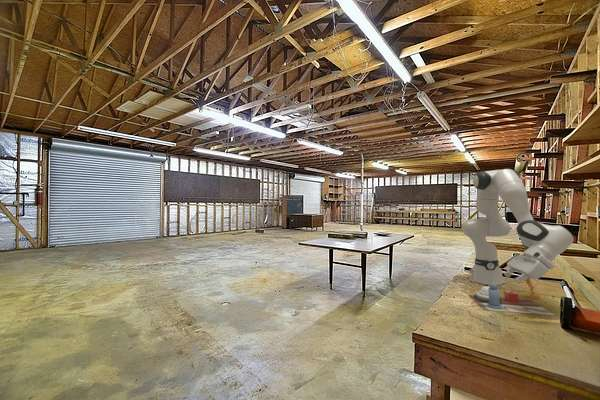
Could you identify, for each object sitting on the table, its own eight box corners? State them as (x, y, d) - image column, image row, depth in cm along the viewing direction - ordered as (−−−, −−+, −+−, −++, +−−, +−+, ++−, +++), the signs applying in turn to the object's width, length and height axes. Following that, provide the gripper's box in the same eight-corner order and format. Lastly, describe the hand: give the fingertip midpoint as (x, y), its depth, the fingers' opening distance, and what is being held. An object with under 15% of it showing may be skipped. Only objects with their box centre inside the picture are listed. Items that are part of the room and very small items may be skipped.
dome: (473, 293, 135) (473, 283, 136) (494, 294, 133) (493, 284, 133) (480, 299, 127) (479, 288, 127) (502, 300, 124) (501, 289, 125)
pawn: (485, 304, 123) (484, 280, 123) (498, 305, 122) (497, 281, 122) (490, 308, 118) (489, 284, 118) (504, 309, 117) (502, 284, 117)
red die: (504, 299, 130) (504, 290, 130) (514, 299, 129) (514, 291, 129) (508, 302, 126) (508, 293, 126) (518, 302, 125) (518, 293, 125)
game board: (467, 297, 138) (467, 292, 138) (527, 301, 130) (527, 296, 131) (483, 313, 116) (483, 308, 116) (556, 319, 109) (556, 313, 109)
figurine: (539, 304, 127) (538, 278, 127) (523, 301, 131) (521, 276, 131) (541, 299, 132) (540, 275, 133) (525, 297, 137) (524, 273, 137)
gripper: (518, 248, 127) (494, 268, 129) (544, 256, 107) (516, 279, 109) (529, 258, 125) (506, 278, 128) (558, 267, 106) (529, 291, 108)
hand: (510, 278), depth 118 cm, fingers open, 8 cm apart
